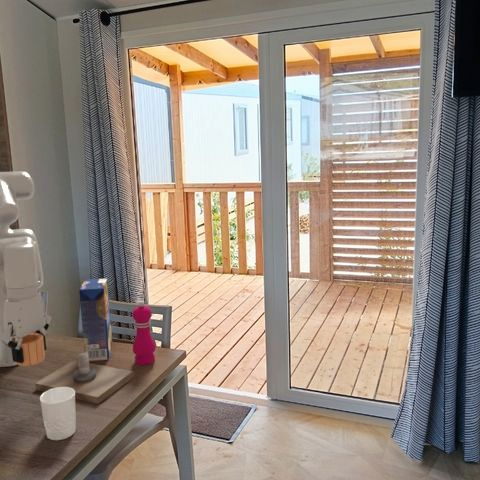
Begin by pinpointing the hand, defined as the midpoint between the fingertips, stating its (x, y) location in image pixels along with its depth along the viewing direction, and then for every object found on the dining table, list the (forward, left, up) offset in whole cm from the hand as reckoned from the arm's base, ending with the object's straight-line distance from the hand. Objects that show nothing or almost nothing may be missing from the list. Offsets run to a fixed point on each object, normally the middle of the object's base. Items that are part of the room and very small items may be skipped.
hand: (29, 355), depth 128 cm
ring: (0, 0, -1) cm, 1 cm away
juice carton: (-6, +34, -15) cm, 37 cm away
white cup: (+15, -7, -15) cm, 23 cm away
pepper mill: (+12, +34, -15) cm, 39 cm away
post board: (+4, +15, -15) cm, 21 cm away
